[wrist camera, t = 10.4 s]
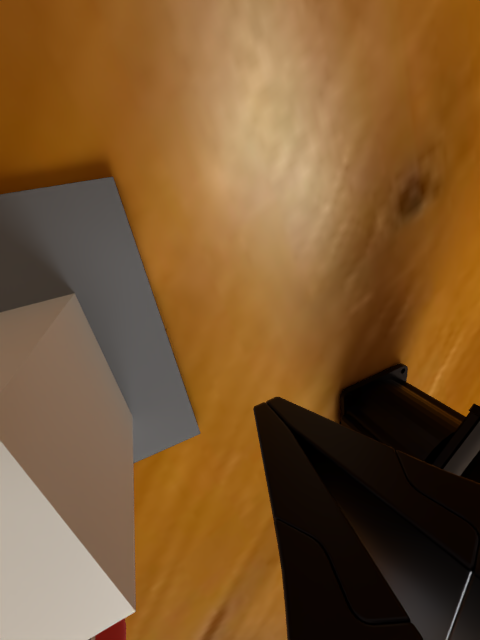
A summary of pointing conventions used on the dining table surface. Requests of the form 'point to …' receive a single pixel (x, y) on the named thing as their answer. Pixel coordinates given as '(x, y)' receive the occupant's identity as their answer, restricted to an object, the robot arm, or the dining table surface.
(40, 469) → the white upright block
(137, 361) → the mat
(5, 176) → the dining table surface
